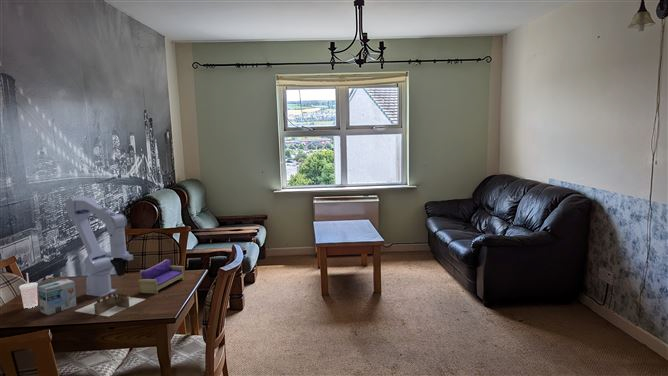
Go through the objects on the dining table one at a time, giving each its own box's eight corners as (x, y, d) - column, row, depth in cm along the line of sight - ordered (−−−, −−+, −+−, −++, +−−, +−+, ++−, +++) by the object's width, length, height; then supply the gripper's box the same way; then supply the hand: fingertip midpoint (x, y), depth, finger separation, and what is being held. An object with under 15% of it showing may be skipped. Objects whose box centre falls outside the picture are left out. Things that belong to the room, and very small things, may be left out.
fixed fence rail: (117, 306, 166) (115, 293, 166) (119, 305, 167) (118, 292, 167) (127, 308, 164) (125, 294, 164) (129, 306, 166) (128, 293, 165)
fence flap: (115, 304, 168) (114, 291, 167) (118, 304, 168) (117, 291, 167) (95, 314, 158) (93, 300, 158) (97, 314, 158) (96, 300, 157)
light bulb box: (48, 316, 160) (45, 289, 159) (40, 312, 163) (37, 286, 162) (77, 306, 169) (75, 280, 168) (69, 303, 172) (66, 278, 171)
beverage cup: (18, 310, 167) (14, 276, 165) (26, 304, 173) (22, 271, 171) (35, 308, 168) (31, 274, 166) (42, 302, 174) (39, 270, 172)
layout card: (74, 312, 163) (74, 310, 163) (113, 295, 180) (113, 294, 180) (108, 317, 157) (108, 316, 157) (145, 300, 173) (145, 298, 173)
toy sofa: (156, 295, 179) (154, 272, 178) (139, 294, 181) (137, 271, 180) (185, 279, 199) (183, 258, 198) (169, 278, 201) (168, 258, 200)
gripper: (138, 242, 174) (141, 274, 176) (114, 240, 181) (117, 270, 182) (123, 246, 168) (126, 279, 169) (99, 244, 174) (102, 275, 176)
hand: (120, 275), depth 175 cm, fingers closed
